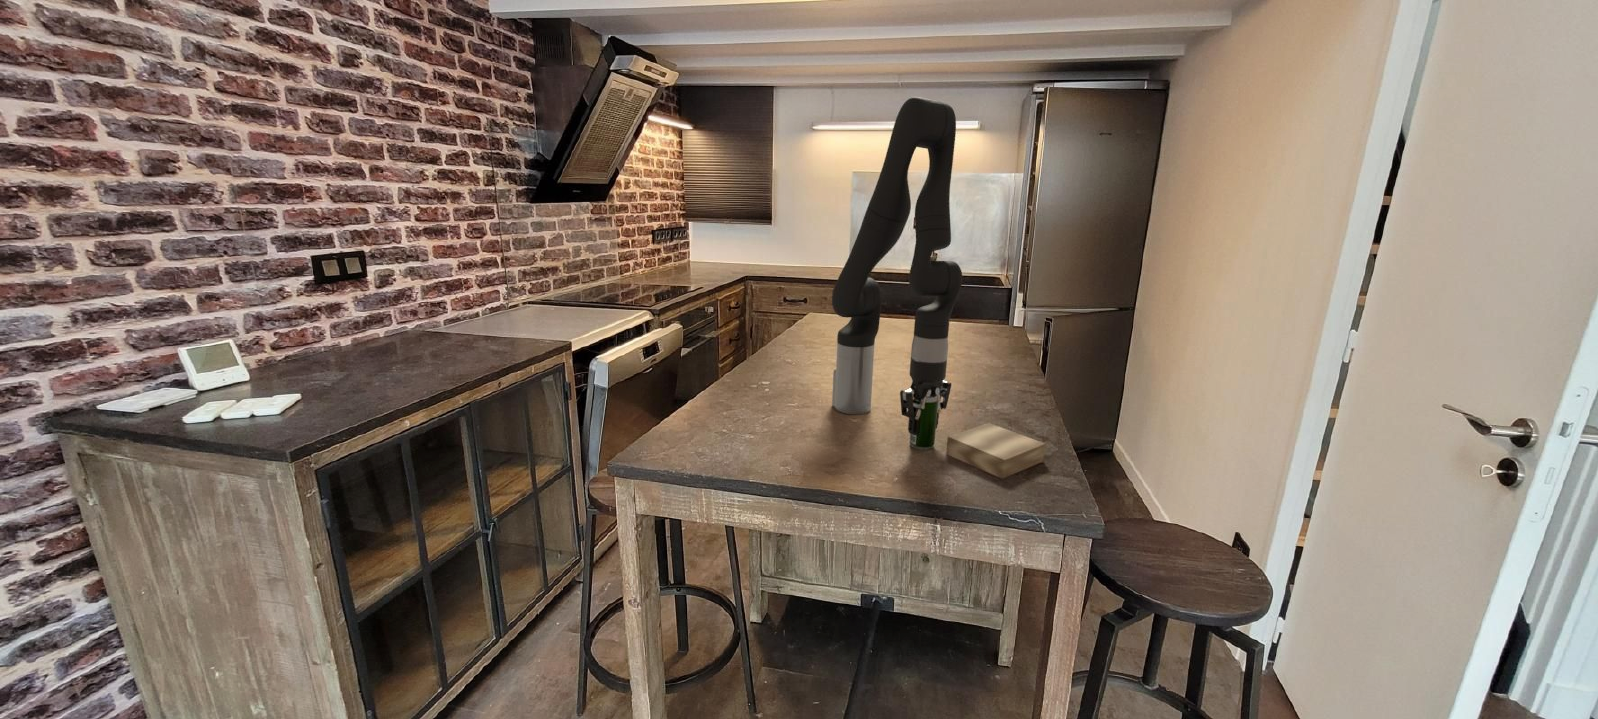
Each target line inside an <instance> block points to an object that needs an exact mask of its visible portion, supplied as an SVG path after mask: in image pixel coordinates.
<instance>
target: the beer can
mask: <svg viewBox="0 0 1598 719" xmlns="http://www.w3.org/2000/svg"><path fill="white" fill-rule="evenodd" d="M913 401H914V403H915V404H918V405H919V404H920V403H921V401H918V400H915V398H914V400H913ZM937 409H938V395H936V396H935V395H934V394H933V395H930V397H927V400H926V402H925V409H924V410H922V411H921V414H920V417H919V419H920V422H919V434H918V435H912V434H910V433H909V444H910V446H911V447H912V448H914V449H915V450H920V451H927V450H928V451H929V450H931V449H933V447H934V446H935V441H936V440H935V438H936V431H937V430H936V420H937ZM916 410H917V408H916V407H914V413H916Z"/></svg>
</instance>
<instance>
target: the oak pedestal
mask: <svg viewBox="0 0 1598 719" xmlns="http://www.w3.org/2000/svg"><path fill="white" fill-rule="evenodd" d="M946 442H947V443H946V451H945V454H946V455H948V456H950V457H952V458H954V459H956V460H958V461H961V462H963V463H966V464H969V465H970V466H972V467H975V468H977V469H978V470H982V471H983V472H986V473H988V474H991V475H993V476H995V477H996V478H1000V479H1005V478H1008V477H1010V476H1013V475H1014V474H1017V473H1020V472H1022V471H1024V470H1026V469H1029V468H1031V467H1034V466H1036V465H1038V464H1040V463H1043V462H1044V457H1045V450H1046V443H1044V442H1042V441H1039V440H1036V439H1033V438H1031V437H1028V436H1026V435H1023V434H1020V433H1018V432H1015V431H1012V430H1009V429H1006V428H1004V427H1002V426H998V425H995V424H993V423H990V422H988V423H984V424H982V425H978V426H975V427H972V428H970V429H969V428H968V429H966V430H964V431H960V432H957V433H955V434H952V435H948V436H947V441H946Z"/></svg>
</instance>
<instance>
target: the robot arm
mask: <svg viewBox="0 0 1598 719" xmlns="http://www.w3.org/2000/svg"><path fill="white" fill-rule="evenodd" d="M956 124H957V118H956V114H955V111H954V108H953V106H951V105H950V104H949V103H947V102H946V103H945V102H942V101H938V100H934V99H929V98H925V97H920V96H912V97H909V98H908V99H907V100H906V101H905V102H904V103H903V104H902V106H900V108H899V112H898V114H897V116H896V119H895V121H894V124H893V128H892V132H891V136H890V138H889V143H888V146H887V149H886V150H887V151H886V154H885V158H884V162H883V164H882V168H881V171H880V174H879V177H878V179H877V182H876V184H875V187H874V190H873V194H872V195H871V198H870V200H869V202H868V206H867V207H866V211H865V214H864V215H863V219H862V222H861V225H860V228H859V231H858V233H857V236H856V238H855V242H854V243H853V246H852V248H851V250H850V253H849V256H848V258H847V260H846V262H845V264H844V266H843V268H842V269H841V270H842V271H840V274H839V276H838V278H837V280H836V282H835V284H834V287H833V290H832V294H831V306H832V309H833V310H834V313H835V314H836V315H837V316H838V317H841V318H850V319H849V321H848V323H847V324H845V325H844V326H843V327H841V328H840V329H839V330H838V332H837V336H836V337H837V339H836V362H835V363H836V364H835V365H836V366H835V369H834V370H833V372H832V373H833V375H832V376H833V377H832V378H833V379H832V380H833V381H832V399H831V406H833V407H834V409H835V410H836V411H837V412H840V413H843V414H847V415H863V414H866V413H869V412H871V409H872V394H873V376H874V375H873V374H874V362H875V360H874V359H875V358H874V357H875V341H876V337H877V335H878V333H879V328H880V321H881V320H880V319H881V312H882V310H881V309H882V291H881V287H880V285H879V283H878V282H877V280H875V279H874V278H872V277H870V275H871V273H872V271H873V270H874V268H875V267H876V266H877V264H878V263H879V262H880V261H882V259H883V258H884V257H885V256H886V255H887V254H888V253H889V252H890V251H891V250H892V249H893V247H894V246H895V245H896V244H897V243H898V241H899V240H900V238H901V236H902V234H903V233H904V229H905V227H906V224H907V222H908V219H909V217H910V213H911V209H912V208H911V206H912V202H911V194H910V192H911V191H910V187H909V186H910V185H909V179H908V177H909V176H908V175H909V168H910V164H911V162H912V159H913V155H914V152H915V150H916V148H919V149H920V148H921V149H927V154H928V160H929V163H928V164H929V166H928V172H927V176H926V179H925V181H924V183H923V185H922V188H921V190H920V192H919V194H918V196H917V199H916V203H915V208H914V227H915V228H914V229H915V244H914V252H913V257H912V260H911V261H912V263H911V265H910V269H909V273H908V274H909V275H908V283H909V286H910V289H911V291H912V292H913V293H914V294H915V295H917V296H919V297H931V296H935V297H936V298H935V299H934V300H933V302H932V303H930V304H927V305H924V306H921V307H918V308H917V310H916V311H915V313H914V314H915V316H914V324H913V325H914V326H913V338H912V342H911V348H910V364H909V377H910V378H911V380H912V382H911V384H910V388H909V389H907V390H904V389H901V390H899V391H900V392H899V398H900V407H901V409H900V410H901V411H900V413H901V415H902V416H904V417H906V418H908V425H907V427H908V428H907V430H908V433H909V435H910V434H912V435H918V434H919V422H920V419H919V417H920V414H921V411H922V410H924V409H925V402H926V400H927V397H930V395H933V394H934V395H935V396H936V395H938V409H937V420H936V429H938V425H939V418H940V417H939V416H940V414H941V411H942V410H946V409H947V408H948V407H947V406H948V402H949V397H950V393H951V389H952V383H951V382H949V381H947V380H945V379H946V374H947V365H948V354H949V353H948V352H949V330H950V318H951V315H952V313H953V310H954V306H955V304H956V301H957V298H958V296H959V294H960V292H961V288H962V285H963V284H962V283H963V272H962V269H961V266H960V265H959V264H958V263H957V262H956V261H953V260H931V258H932V254H933V252H934V251H935V252H936V251H939V250H944V249H947V248H948V247H949V246H950V244H951V242H952V226H951V211H950V210H951V208H950V194H951V181H952V174H953V173H952V172H953V166H954V165H953V163H954V156H955V155H954V152H955V144H956V132H957V125H956ZM914 398H915V400H918V401H921V403H920V404H919V405H918V404H915V403H914V401H913V400H914ZM942 398H943V399H942ZM914 407H916V408H917V410H916V413H914Z"/></svg>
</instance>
